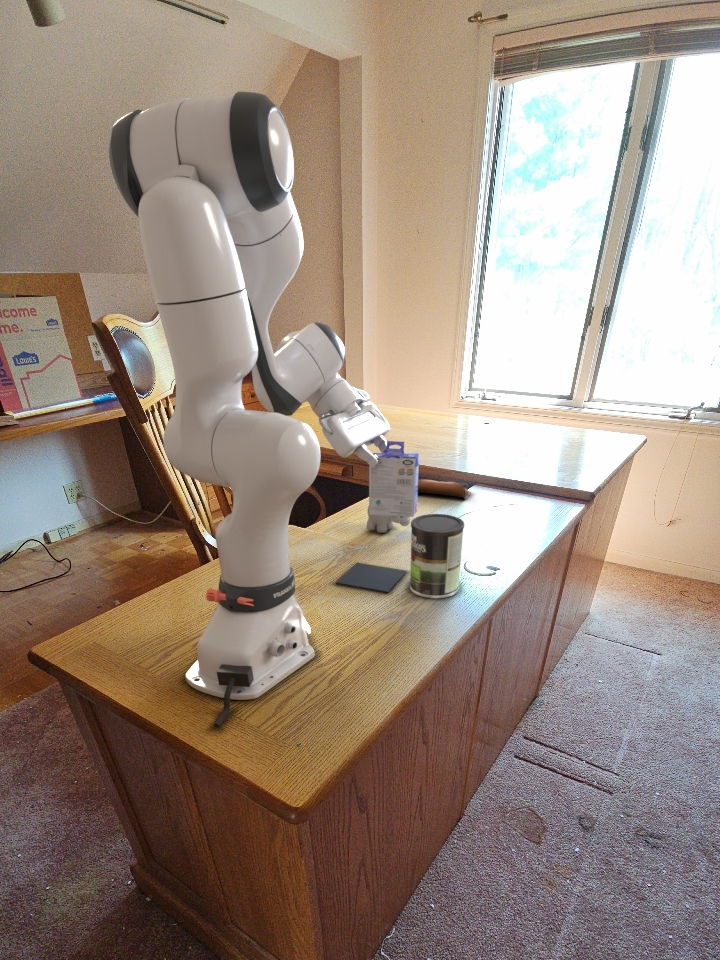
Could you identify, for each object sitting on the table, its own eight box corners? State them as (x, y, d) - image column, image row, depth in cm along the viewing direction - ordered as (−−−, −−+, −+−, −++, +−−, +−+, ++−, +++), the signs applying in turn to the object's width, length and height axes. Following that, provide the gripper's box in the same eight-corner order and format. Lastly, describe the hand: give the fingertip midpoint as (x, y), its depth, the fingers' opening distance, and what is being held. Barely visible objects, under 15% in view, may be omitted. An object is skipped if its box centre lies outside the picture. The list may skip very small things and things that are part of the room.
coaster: (387, 593, 114) (387, 591, 114) (335, 584, 119) (335, 582, 119) (406, 572, 123) (406, 570, 123) (357, 564, 127) (357, 562, 127)
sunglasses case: (472, 491, 170) (470, 475, 165) (466, 508, 168) (464, 492, 162) (417, 485, 177) (413, 469, 172) (409, 502, 174) (406, 486, 169)
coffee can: (421, 602, 111) (423, 534, 103) (402, 581, 119) (403, 517, 112) (468, 594, 113) (473, 527, 106) (446, 574, 122) (450, 511, 114)
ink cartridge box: (417, 510, 122) (420, 441, 115) (414, 518, 117) (417, 445, 110) (373, 508, 123) (373, 439, 116) (368, 515, 119) (368, 444, 112)
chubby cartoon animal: (402, 540, 139) (402, 506, 135) (362, 531, 145) (361, 499, 141) (416, 531, 144) (417, 498, 140) (377, 523, 150) (376, 491, 146)
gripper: (324, 404, 104) (373, 462, 105) (369, 390, 120) (410, 440, 121) (305, 428, 108) (352, 483, 109) (350, 411, 124) (391, 460, 125)
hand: (383, 460), depth 116 cm, fingers closed on ink cartridge box, 6 cm apart
